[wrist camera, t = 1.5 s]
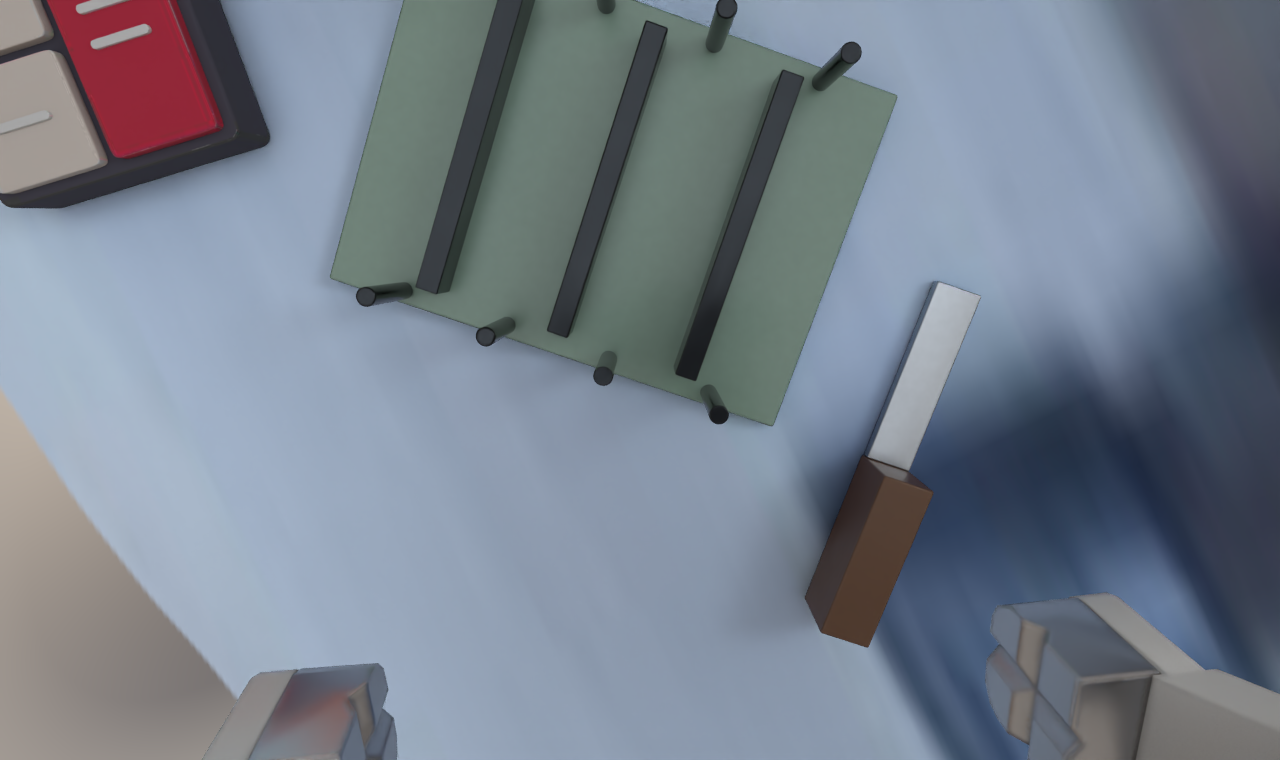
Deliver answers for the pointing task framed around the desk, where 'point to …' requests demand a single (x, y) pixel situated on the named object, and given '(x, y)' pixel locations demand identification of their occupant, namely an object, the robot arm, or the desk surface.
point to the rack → (612, 189)
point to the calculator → (116, 96)
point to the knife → (889, 480)
